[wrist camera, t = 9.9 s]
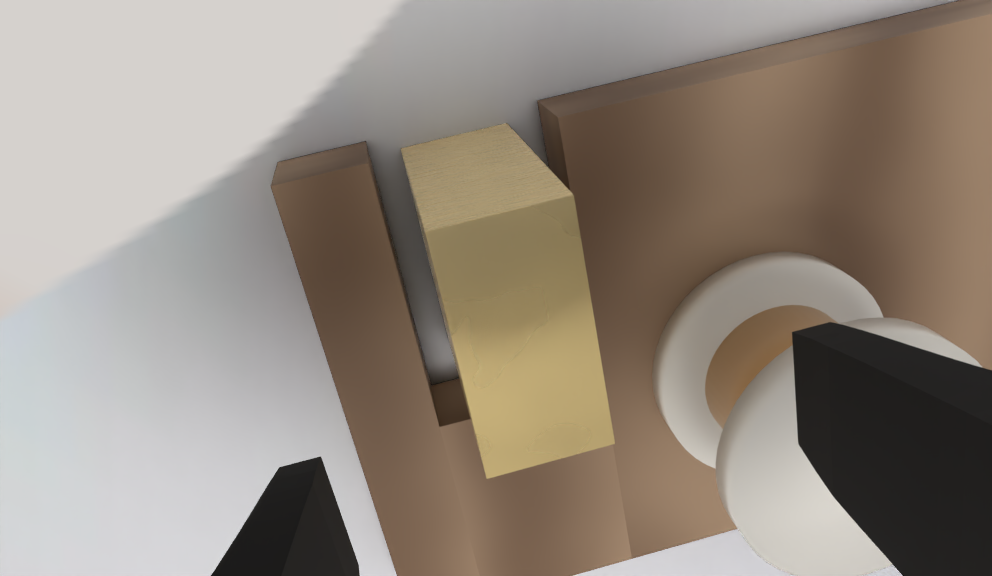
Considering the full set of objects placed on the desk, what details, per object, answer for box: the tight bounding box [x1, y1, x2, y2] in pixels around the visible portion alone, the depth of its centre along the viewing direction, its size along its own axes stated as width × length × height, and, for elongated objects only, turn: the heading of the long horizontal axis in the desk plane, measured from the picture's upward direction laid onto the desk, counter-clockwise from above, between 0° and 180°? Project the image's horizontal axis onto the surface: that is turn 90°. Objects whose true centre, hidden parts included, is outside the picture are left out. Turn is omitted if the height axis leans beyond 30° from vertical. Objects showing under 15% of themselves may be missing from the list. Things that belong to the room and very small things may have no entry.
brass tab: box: [401, 123, 615, 479], centre depth 17 cm, size 2×5×6 cm, turn 11°
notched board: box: [271, 0, 992, 576], centre depth 21 cm, size 20×12×2 cm, turn 101°
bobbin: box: [652, 252, 983, 576], centre depth 18 cm, size 6×6×4 cm
